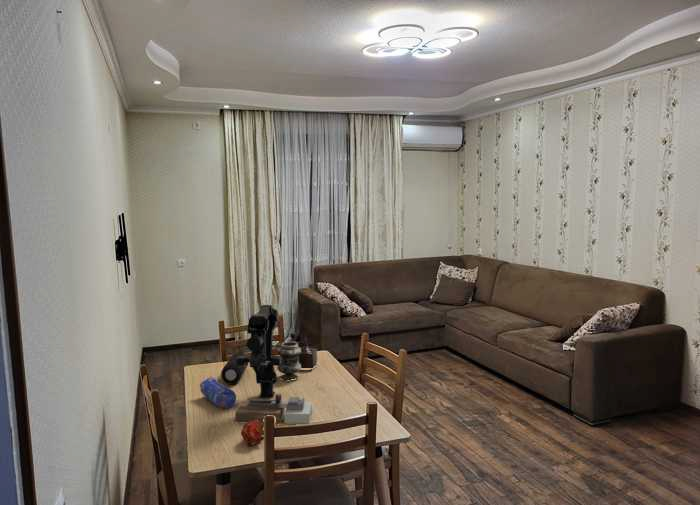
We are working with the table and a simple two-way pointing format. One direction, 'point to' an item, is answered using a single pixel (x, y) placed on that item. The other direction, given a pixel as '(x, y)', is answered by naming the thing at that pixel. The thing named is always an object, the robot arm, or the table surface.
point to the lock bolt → (278, 401)
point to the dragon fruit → (252, 432)
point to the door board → (258, 411)
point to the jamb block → (298, 411)
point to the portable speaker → (233, 369)
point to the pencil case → (218, 393)
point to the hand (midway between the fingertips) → (259, 379)
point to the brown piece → (306, 354)
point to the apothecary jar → (289, 360)
